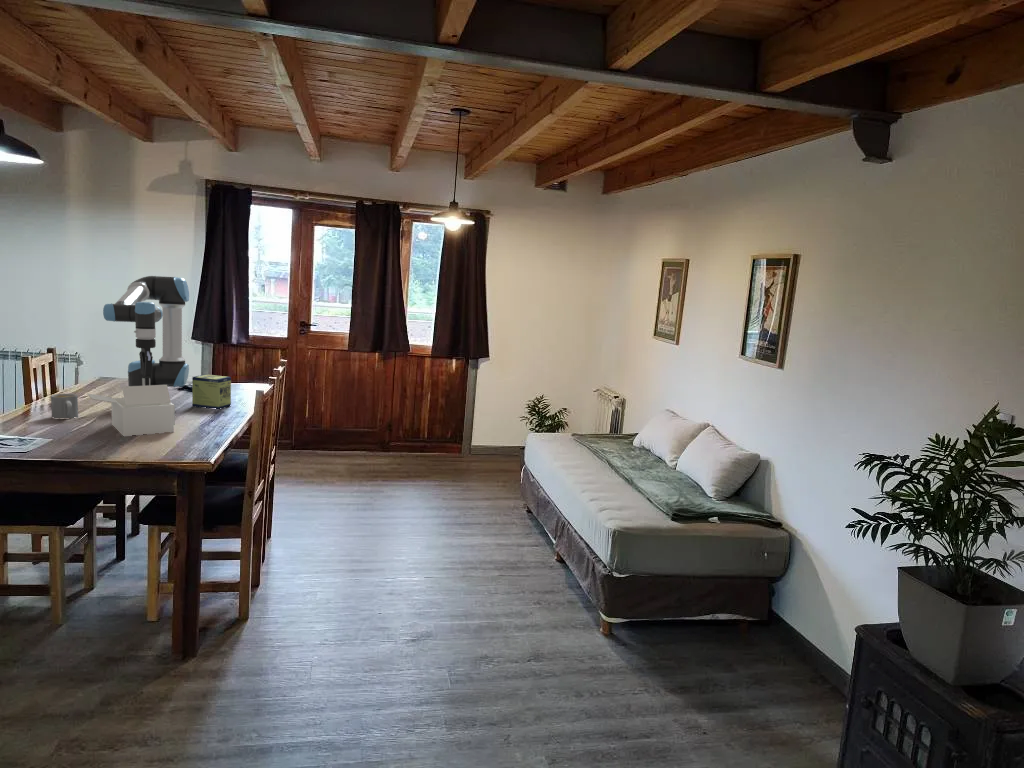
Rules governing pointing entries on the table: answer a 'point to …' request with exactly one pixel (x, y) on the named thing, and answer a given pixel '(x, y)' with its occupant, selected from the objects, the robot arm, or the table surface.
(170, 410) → the carton
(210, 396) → the protein box
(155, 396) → the front flap
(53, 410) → the coffee mug
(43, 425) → the table surface
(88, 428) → the table surface
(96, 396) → the side flap
